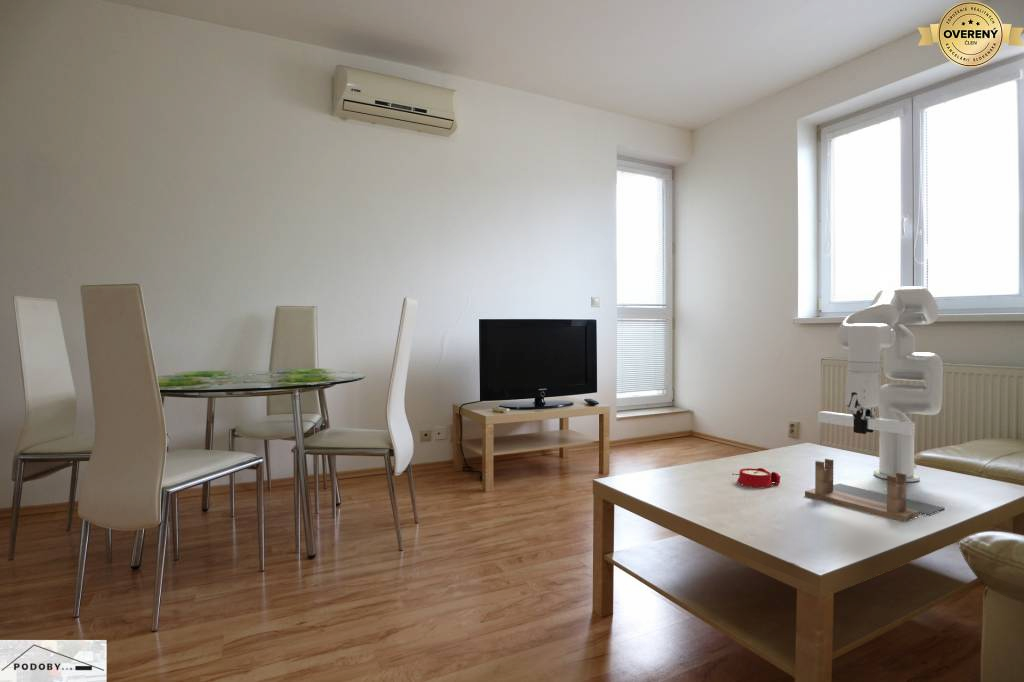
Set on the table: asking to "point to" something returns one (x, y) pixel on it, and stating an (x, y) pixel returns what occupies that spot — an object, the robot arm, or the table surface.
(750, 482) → the alarm clock
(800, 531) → the table surface
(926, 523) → the table surface
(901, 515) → the walnut rail stand
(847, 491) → the rubber mat
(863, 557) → the table surface
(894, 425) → the steel rail
